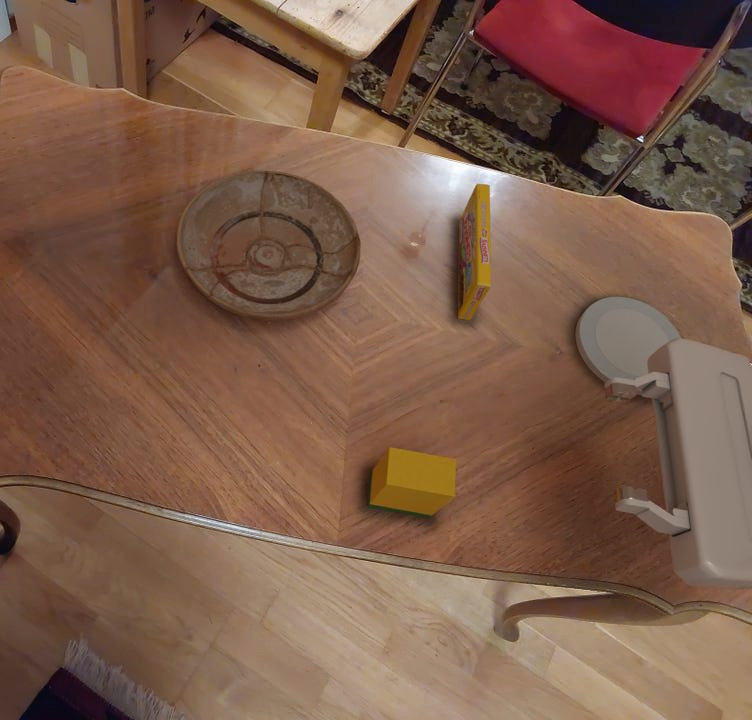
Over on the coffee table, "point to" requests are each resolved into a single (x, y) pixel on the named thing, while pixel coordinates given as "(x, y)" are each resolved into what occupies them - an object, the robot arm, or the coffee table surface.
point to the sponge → (412, 482)
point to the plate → (621, 337)
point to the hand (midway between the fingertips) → (613, 440)
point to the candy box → (474, 252)
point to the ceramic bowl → (268, 245)
